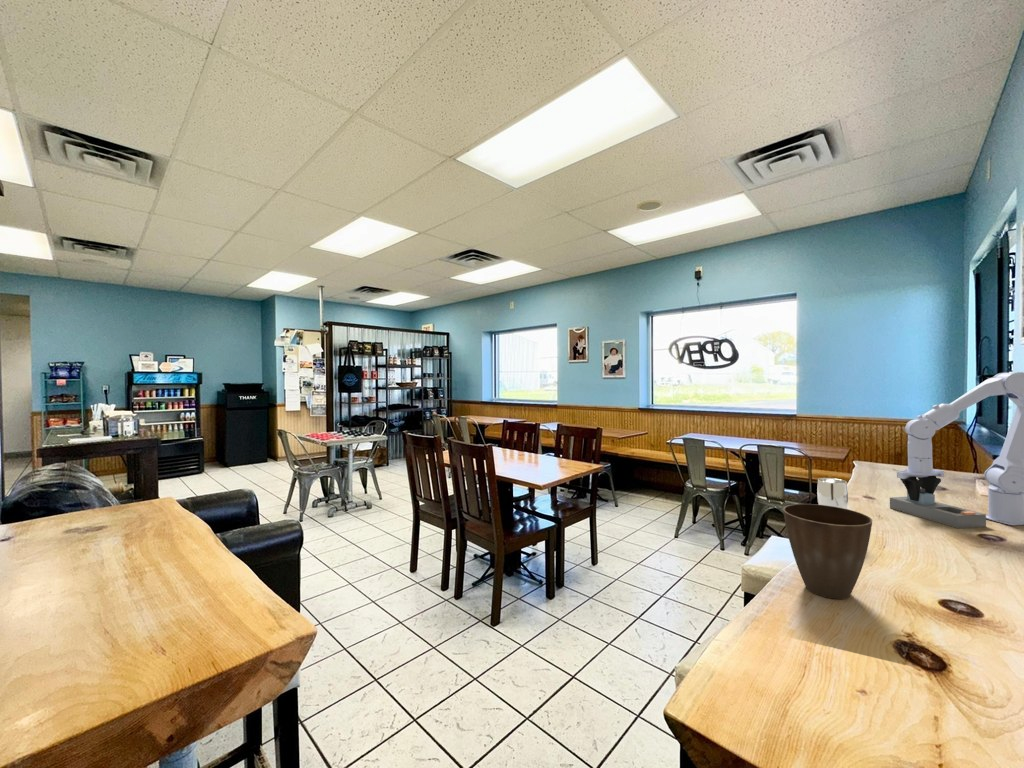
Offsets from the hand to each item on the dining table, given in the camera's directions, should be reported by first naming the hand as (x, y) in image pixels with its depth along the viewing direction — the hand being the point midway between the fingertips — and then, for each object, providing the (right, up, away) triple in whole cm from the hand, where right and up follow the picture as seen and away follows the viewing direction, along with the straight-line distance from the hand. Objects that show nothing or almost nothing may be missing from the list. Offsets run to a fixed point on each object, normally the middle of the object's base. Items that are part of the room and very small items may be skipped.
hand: (920, 500), depth 137 cm
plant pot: (-65, -6, -48) cm, 81 cm away
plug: (0, -4, 0) cm, 4 cm away
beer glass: (-40, -5, -16) cm, 43 cm away
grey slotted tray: (0, -4, -4) cm, 6 cm away
